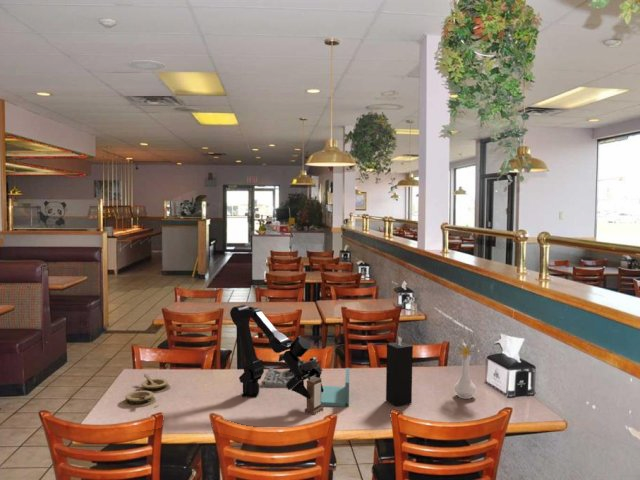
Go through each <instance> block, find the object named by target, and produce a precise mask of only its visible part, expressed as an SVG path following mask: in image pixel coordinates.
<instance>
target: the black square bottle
mask: <svg viewBox="0 0 640 480" xmlns="http://www.w3.org/2000/svg"><path fill="white" fill-rule="evenodd" d="M397 340H398V341H396V342H390V343H386V368H385V369H386V373H385V374H386V376H385V380H386V385H385V400H386V402H388V403H389V404H391V405H393V406H395V407H402V406H405V405H410V404H412V401H413V399H412V398H413V397H412V396H413V356H414V355H413V353H414V352H413V350H414V348H413V347H414V346H413V345H411V344H409V343H406V342H404V341H403V339H402V337H400V335H399V336H397Z"/></svg>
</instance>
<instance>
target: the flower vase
mask: <svg viewBox="0 0 640 480" xmlns="http://www.w3.org/2000/svg"><path fill="white" fill-rule="evenodd" d="M449 350H451V351H450V353H449V354H450V356H451V359H453V358H454V357H455V356H461V361H462V362H461V363H462V364H461V375H460V378H459V380H458V381H457V382H456V383H455V384H454V386H453V387H454V388H453V391H454V392H455V393H456V394H457V397H458V398H461V399H465V400H469V399H471V398H473V396H474V395H475V394H476V392H477V388H476V385H475V384H474V383H473V381H472V379H471V375H470V361H471V357H472V356H473V355H474V354H476V355H477V356H478V357H479V358H483V357H482V354H481V353H480V352H481V351H480V347H479V345H478V344H477V341H474V344H472V341H471V340H470V339H468V340H467V341H466V343H465V340H464V339H463V338H460V339H459V340H458V339H456V338H455V340H454V342H453V343H452V345H451V346H450V347H449Z"/></svg>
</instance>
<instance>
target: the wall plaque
mask: <svg viewBox="0 0 640 480" xmlns="http://www.w3.org/2000/svg"><path fill="white" fill-rule="evenodd" d="M289 370H290V369H289V368H288V369H285V370H282V371H281V370H278V369H274V368H272V367H271V368H268V369H267V370H266V371H267V372H266V374H265V376H264V379H263V380H262V381H261V383H260V384H261V387H263V388H276V387H277V388H279V387H281V388H282V389H283V388H285V389H286V388H287V387H286V383H287V382H288V381H289V380H290V379H291V378H292V377H294V375H293V373H292V372H291V373H289ZM279 389H280V388H279Z"/></svg>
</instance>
